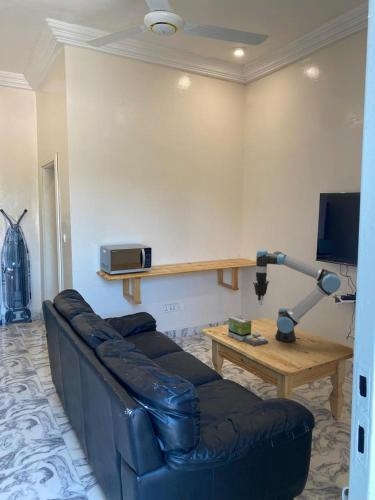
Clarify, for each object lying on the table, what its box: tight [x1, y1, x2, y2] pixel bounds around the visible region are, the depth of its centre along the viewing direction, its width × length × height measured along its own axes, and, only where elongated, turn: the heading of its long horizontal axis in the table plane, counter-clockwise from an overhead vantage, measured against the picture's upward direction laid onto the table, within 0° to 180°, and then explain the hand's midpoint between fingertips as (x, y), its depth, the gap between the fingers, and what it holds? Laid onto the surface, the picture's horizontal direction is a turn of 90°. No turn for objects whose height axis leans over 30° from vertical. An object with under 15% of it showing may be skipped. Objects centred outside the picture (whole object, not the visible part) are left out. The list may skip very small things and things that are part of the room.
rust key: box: [251, 338, 259, 343], centre depth 277 cm, size 4×4×4 cm
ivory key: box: [257, 336, 267, 342], centre depth 280 cm, size 4×4×4 cm
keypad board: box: [242, 338, 269, 347], centre depth 281 cm, size 13×12×2 cm
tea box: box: [227, 315, 252, 342], centre depth 290 cm, size 15×10×15 cm
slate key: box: [251, 332, 262, 338], centre depth 284 cm, size 4×4×4 cm
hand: (260, 304), depth 277 cm, fingers closed
